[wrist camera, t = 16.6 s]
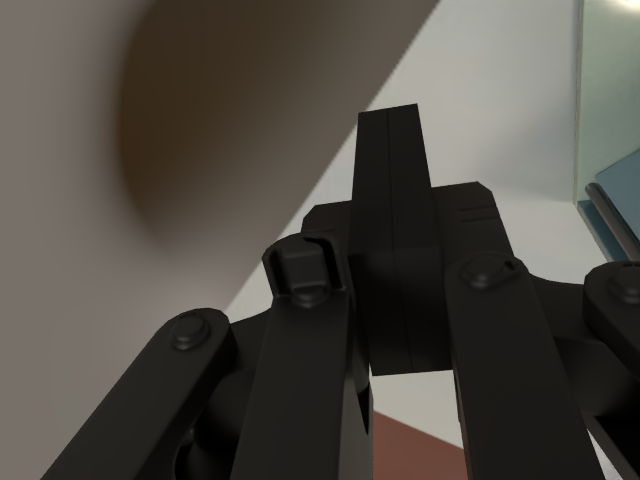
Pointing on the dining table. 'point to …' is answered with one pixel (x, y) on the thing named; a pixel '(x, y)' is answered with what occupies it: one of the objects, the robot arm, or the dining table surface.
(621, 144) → the shower
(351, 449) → the robot arm
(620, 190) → the shower door
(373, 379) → the dining table surface
